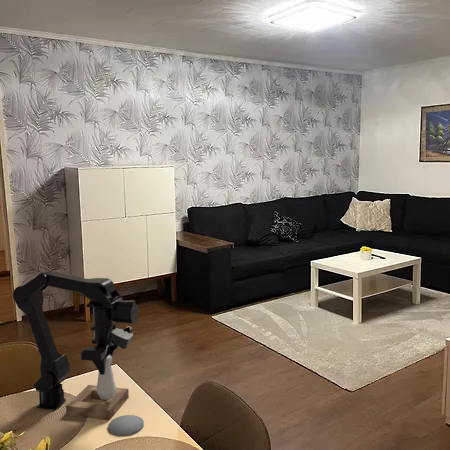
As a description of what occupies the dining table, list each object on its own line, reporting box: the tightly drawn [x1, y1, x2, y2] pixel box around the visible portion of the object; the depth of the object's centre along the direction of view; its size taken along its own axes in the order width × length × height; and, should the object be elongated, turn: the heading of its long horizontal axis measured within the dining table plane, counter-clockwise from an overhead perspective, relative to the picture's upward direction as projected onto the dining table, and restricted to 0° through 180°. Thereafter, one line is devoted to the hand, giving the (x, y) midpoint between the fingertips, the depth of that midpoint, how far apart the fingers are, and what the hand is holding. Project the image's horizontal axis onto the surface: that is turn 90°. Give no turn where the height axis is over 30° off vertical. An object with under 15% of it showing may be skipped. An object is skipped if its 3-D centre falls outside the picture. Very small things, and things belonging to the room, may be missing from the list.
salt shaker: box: [96, 355, 117, 401], centre depth 141 cm, size 6×6×13 cm
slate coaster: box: [108, 414, 145, 437], centre depth 134 cm, size 10×10×1 cm
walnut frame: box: [65, 384, 130, 421], centre depth 145 cm, size 14×14×3 cm
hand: (105, 371), depth 141 cm, fingers closed on salt shaker, 4 cm apart
